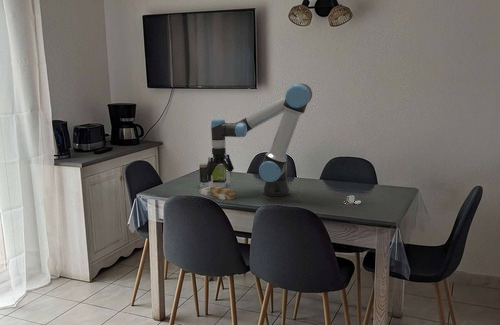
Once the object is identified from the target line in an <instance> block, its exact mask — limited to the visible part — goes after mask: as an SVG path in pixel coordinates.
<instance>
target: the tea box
mask: <svg viewBox="0 0 500 325" xmlns="http://www.w3.org/2000/svg"><path fill="white" fill-rule="evenodd" d="M207 164H208V161H202V162H200V163H199V189H203V188H207V187H209V181H208V176H207V175H205V174H204V173H205V170H206V167H207ZM226 171H227V169H226V168H225V167H224V165H223V164H218V165H217V166H216V167H215V169H214V171H213V173H212V176H213V186H220V187H224V188H227V187H226V186H227V184H228V183H227V182H226Z"/></svg>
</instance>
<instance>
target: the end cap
mask: <svg viewBox="0 0 500 325" xmlns="http://www.w3.org/2000/svg"><path fill="white" fill-rule="evenodd" d="M209 193H210V187H207V188H199V194H200V195H204V196H208V195H209Z"/></svg>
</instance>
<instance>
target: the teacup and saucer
mask: <svg viewBox="0 0 500 325" xmlns="http://www.w3.org/2000/svg"><path fill="white" fill-rule="evenodd" d="M346 201H348V204H357V205H359V204H362V201H361V200H355V195H348V196H346ZM354 201H355V202H354ZM346 203H347V202H346ZM346 203H344V204H345V205H347V204H346Z"/></svg>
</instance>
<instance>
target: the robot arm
mask: <svg viewBox="0 0 500 325" xmlns="http://www.w3.org/2000/svg"><path fill="white" fill-rule="evenodd" d="M312 97H313V91H312V89H311V87H310V86H309V85H307V83H306V84H305V83H296V84H295V83H294V84H293V85H291V86H289V88H287V90H286V92H285V95H284V96H282V97H281V98H278V99H277V100H275V101H274V102H271V103H269V104H268V105H266V106H264V107H263V108H261V109H259V110H257V111H255V112H254V113H251V114H250V115H247V116H246V117H244V118H242V119H241V120H239V121H236V122H226V121H225V119H224V118H216V119H215V118H214V119H212V120H211V122H210V124H211V125H210V129H211V130H210V132H211V133H210V134H211V147H212V148H211V154H212V156H211V157H210V156H208V161H207V162H208V164H207V167H206V170H205V173H204V174H205V175H207V176H208V181H209V187H213V176H212V173H213V171H214V169H215V167H216V166H217V165H218V164H223V165H224V167H225V168H226V182H227V184H231V182H232V180H231V178H232V172H233V171H234V169H235V166H234V165H233V163H232V161H231V159H230V154H227V153H226V152H227V151H226V137H227V138H229V137H233V138H245V137H246V136H247V133H249V132H250V131H252V130H253V129H256V128H257V127H259V126H261V125H263V124H265V123H267V122H268V121H270V120H273V119H274V118H276V117H278V116H279V115H281V114H282V115H281V119H280V121H279V123H278V124H279V125H278V127H277V131H276V133H275V136H274V138H273V140H272V144H271V146H270V150H269V151H268V152H266V153H265V155H264V159H263V160H262V162H261V164H260V165H259V167H258V174H259V176H260V178H261V179H262V180H263V181H265V183H264V186H263V190H262V192H263V193H262V194H263V195H265V196H267V197H268V196H270V197H285V196H288V195H290V193H291V189H290V187H289V184H288V177H287V176H288V155H287V153H288V152H287V151H288V149H289V146H290V144H291V140H292V138H293V136H294V133H295V130H296V128H297V126H298V121H299V119H300V117H301V115H303V114H305V111H306V109H307V107H308V104H309V103H310V102H311V99H312Z"/></svg>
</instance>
